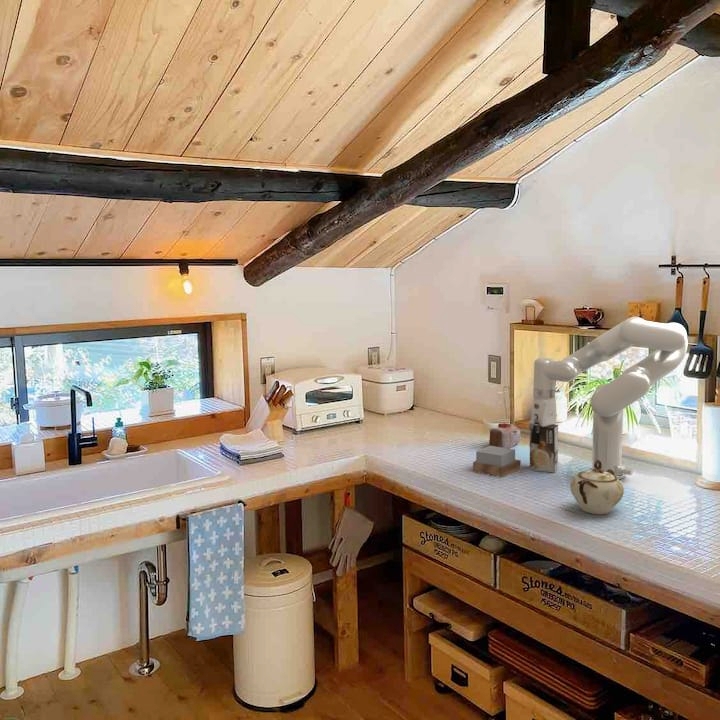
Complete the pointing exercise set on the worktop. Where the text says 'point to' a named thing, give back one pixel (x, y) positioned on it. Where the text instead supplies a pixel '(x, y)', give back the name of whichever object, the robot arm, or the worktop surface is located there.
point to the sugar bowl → (597, 490)
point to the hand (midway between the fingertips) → (542, 440)
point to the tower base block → (497, 468)
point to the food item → (504, 436)
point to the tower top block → (495, 456)
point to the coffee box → (545, 450)
